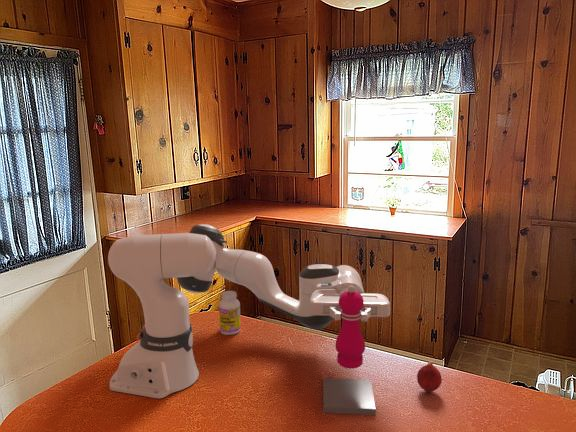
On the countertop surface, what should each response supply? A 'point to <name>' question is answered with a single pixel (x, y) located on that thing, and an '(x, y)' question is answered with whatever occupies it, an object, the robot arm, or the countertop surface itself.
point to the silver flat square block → (348, 396)
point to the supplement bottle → (229, 313)
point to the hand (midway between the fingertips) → (351, 318)
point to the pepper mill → (350, 330)
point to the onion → (429, 377)
